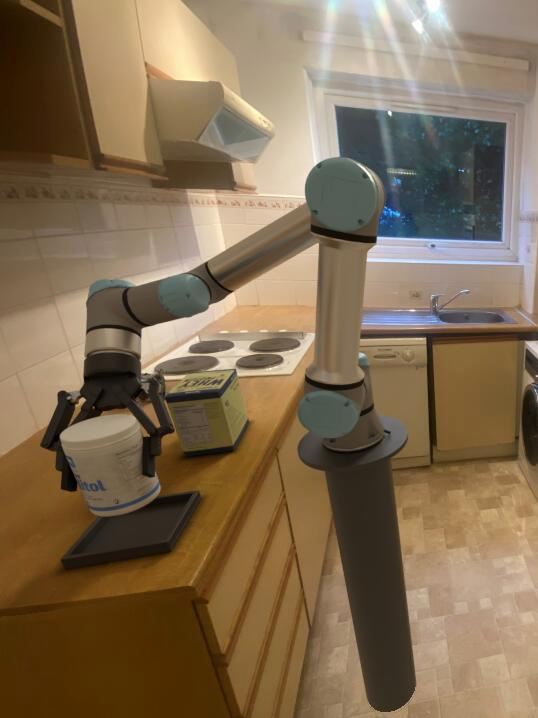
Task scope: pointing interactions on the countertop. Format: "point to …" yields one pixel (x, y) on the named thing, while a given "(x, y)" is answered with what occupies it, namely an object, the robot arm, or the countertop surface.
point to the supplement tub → (109, 464)
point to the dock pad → (134, 531)
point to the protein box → (208, 412)
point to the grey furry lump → (148, 378)
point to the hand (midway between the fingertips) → (110, 482)
